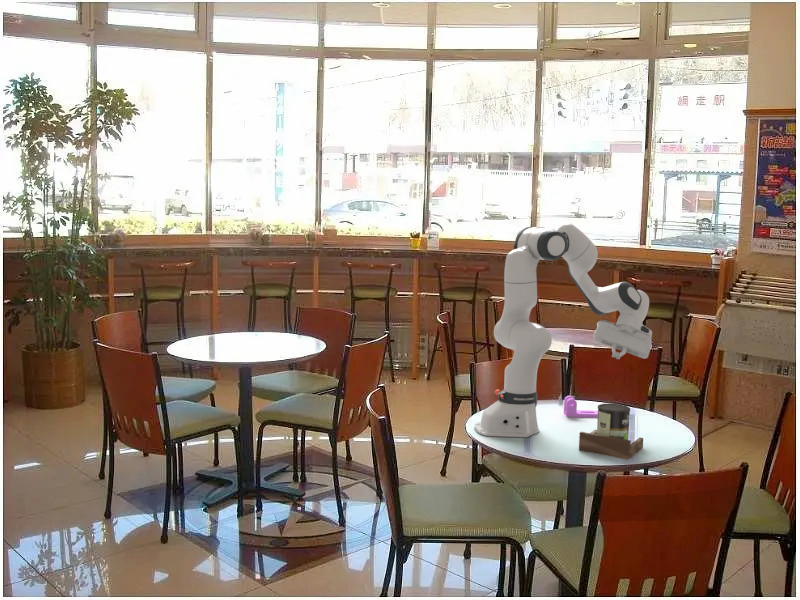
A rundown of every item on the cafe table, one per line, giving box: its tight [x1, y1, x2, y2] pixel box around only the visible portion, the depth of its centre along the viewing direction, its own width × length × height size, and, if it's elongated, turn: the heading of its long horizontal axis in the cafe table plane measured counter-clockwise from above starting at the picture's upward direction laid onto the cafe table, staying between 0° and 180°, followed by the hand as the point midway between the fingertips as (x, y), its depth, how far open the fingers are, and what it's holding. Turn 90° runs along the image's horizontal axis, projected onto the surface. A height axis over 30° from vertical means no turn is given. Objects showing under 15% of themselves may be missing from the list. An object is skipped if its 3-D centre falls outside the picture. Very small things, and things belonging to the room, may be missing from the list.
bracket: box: [563, 395, 598, 418], centre depth 313 cm, size 13×6×7 cm, turn 89°
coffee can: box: [596, 403, 631, 440], centre depth 272 cm, size 10×10×14 cm
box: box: [578, 429, 644, 461], centre depth 272 cm, size 15×16×6 cm
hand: (615, 357), depth 292 cm, fingers closed
